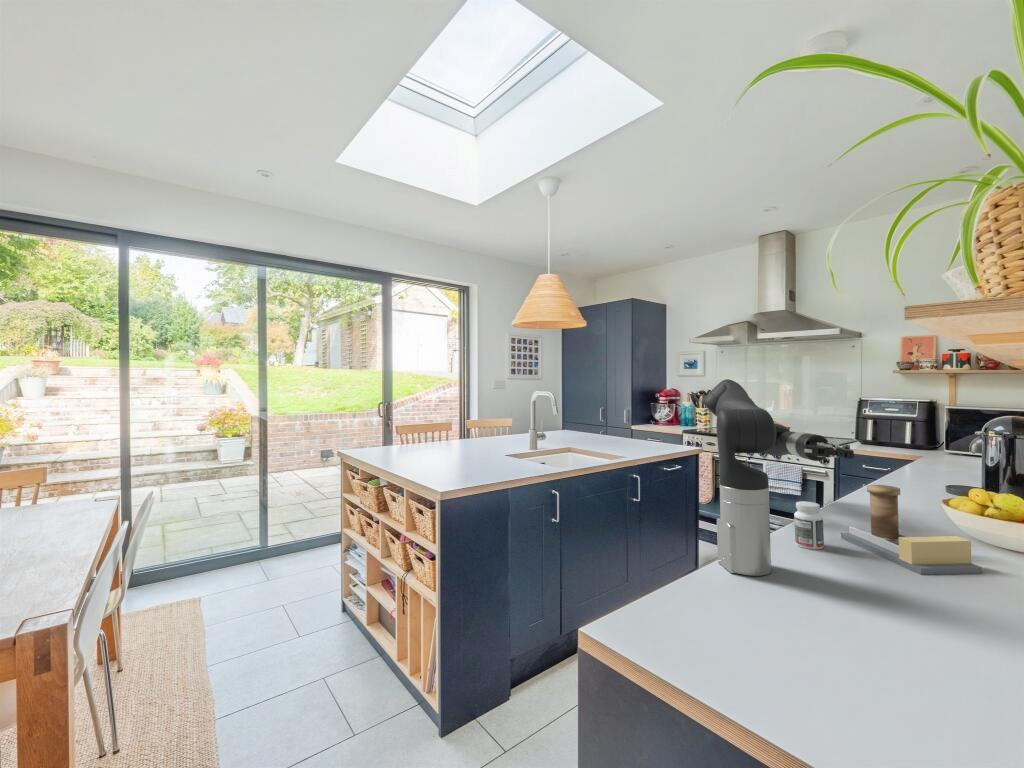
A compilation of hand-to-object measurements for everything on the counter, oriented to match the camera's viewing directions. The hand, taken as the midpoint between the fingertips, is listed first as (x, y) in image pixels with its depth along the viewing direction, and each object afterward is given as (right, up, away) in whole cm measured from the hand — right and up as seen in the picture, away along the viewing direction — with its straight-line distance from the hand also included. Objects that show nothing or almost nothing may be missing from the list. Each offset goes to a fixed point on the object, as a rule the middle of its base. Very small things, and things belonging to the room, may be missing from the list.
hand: (850, 454), depth 115 cm
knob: (0, -18, -10) cm, 21 cm away
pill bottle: (-17, -20, -9) cm, 28 cm away
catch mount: (0, -20, -15) cm, 25 cm away
